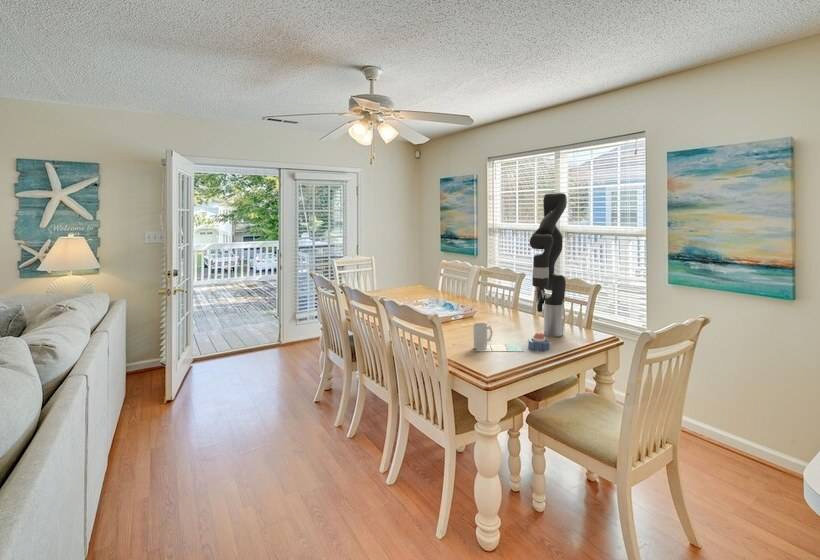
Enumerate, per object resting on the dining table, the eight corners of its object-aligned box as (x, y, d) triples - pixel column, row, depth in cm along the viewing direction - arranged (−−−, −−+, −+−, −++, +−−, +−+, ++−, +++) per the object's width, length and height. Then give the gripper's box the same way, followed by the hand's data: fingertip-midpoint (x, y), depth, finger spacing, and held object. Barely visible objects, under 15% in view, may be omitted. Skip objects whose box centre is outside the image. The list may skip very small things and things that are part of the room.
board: (519, 344, 214) (519, 344, 214) (523, 351, 204) (523, 351, 203) (474, 344, 216) (474, 344, 216) (476, 351, 205) (476, 351, 205)
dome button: (539, 340, 212) (539, 330, 211) (548, 343, 206) (548, 333, 206) (530, 341, 209) (530, 332, 208) (538, 345, 204) (538, 335, 203)
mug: (477, 351, 206) (477, 327, 204) (471, 347, 212) (471, 323, 210) (495, 348, 209) (495, 324, 207) (488, 344, 215) (488, 321, 213)
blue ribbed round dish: (539, 343, 215) (539, 336, 214) (553, 349, 206) (553, 341, 205) (524, 346, 210) (524, 339, 210) (538, 352, 202) (538, 344, 201)
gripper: (529, 274, 209) (529, 308, 212) (535, 278, 196) (534, 314, 199) (545, 274, 209) (544, 308, 211) (552, 278, 196) (550, 314, 198)
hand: (539, 311), depth 205 cm, fingers closed
